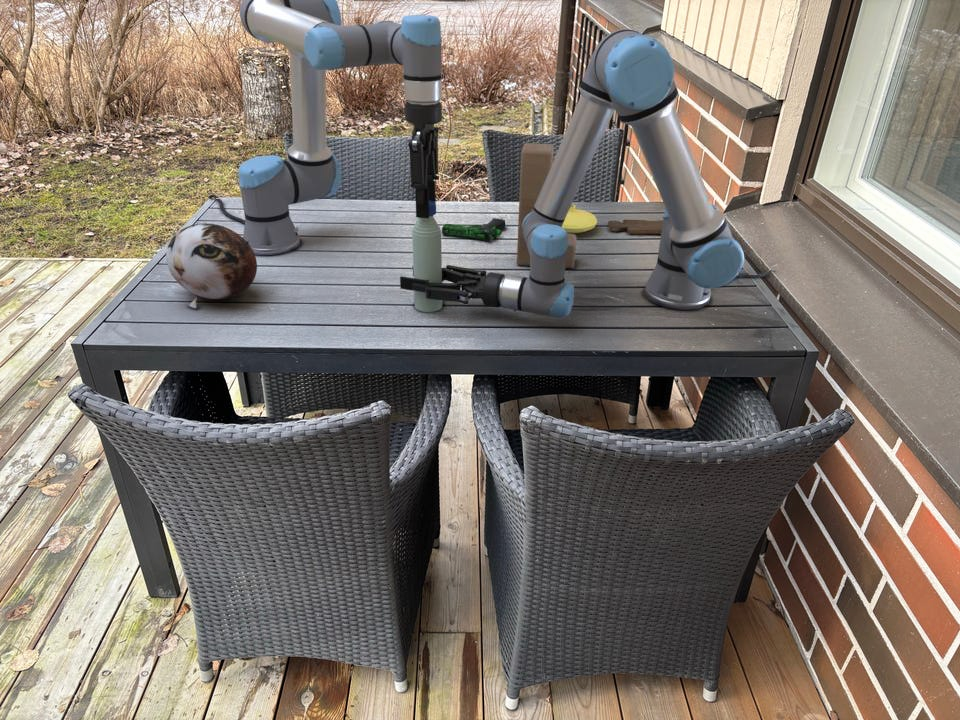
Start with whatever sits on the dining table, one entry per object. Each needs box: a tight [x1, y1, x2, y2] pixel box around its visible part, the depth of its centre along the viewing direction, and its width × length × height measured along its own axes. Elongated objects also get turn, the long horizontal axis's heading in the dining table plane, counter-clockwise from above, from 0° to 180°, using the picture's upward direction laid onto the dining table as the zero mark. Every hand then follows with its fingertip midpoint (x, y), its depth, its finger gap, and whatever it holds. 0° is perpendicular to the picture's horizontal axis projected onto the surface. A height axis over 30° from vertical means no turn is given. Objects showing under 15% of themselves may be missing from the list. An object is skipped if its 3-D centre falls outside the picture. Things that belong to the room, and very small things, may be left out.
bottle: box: [411, 215, 443, 313], centre depth 160 cm, size 6×6×24 cm
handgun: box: [441, 217, 506, 242], centre depth 207 cm, size 16×3×15 cm
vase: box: [561, 203, 598, 234], centre depth 209 cm, size 16×16×7 cm
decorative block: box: [516, 142, 577, 269], centre depth 181 cm, size 8×15×30 cm, turn 82°
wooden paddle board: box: [607, 219, 663, 235], centre depth 211 cm, size 26×2×10 cm
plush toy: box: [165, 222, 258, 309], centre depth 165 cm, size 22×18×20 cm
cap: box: [429, 200, 437, 217], centre depth 154 cm, size 4×4×2 cm
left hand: (426, 213), depth 155 cm, fingers closed on cap, 4 cm apart
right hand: (407, 276), depth 164 cm, fingers closed on bottle, 6 cm apart
